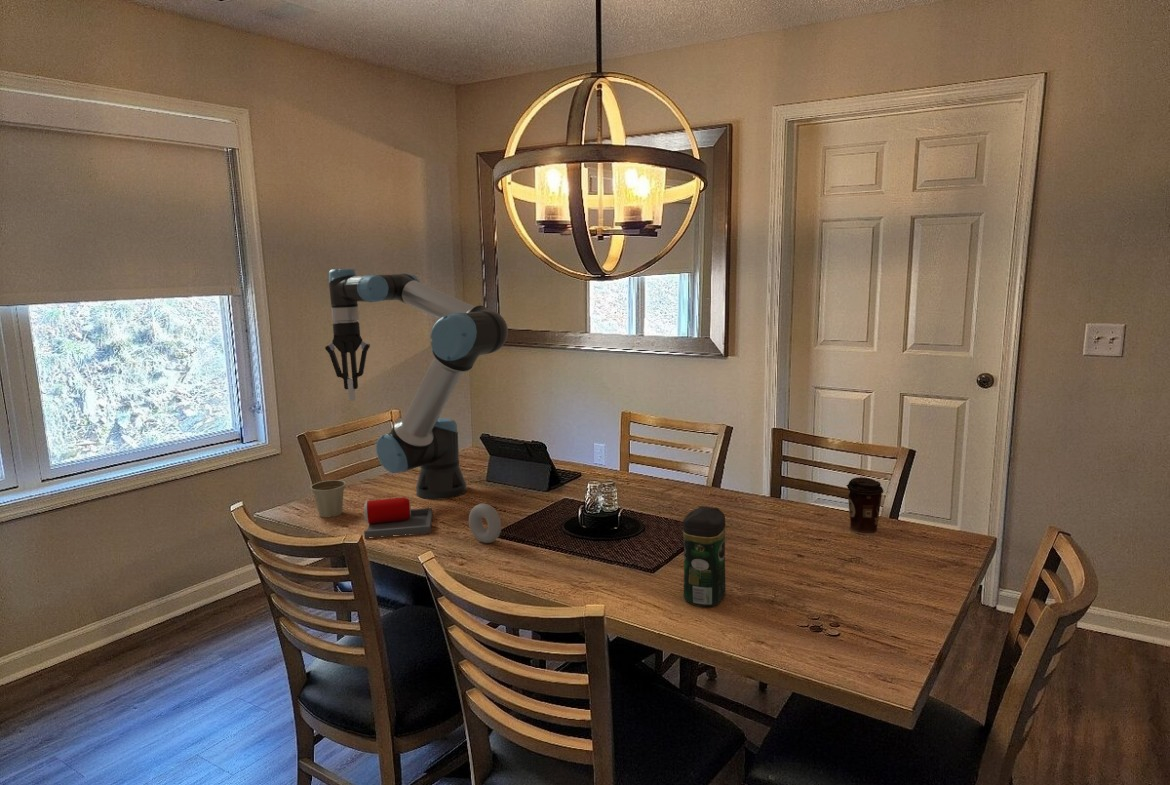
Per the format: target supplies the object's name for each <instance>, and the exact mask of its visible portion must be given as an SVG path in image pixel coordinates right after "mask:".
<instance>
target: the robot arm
mask: <svg viewBox="0 0 1170 785" xmlns="http://www.w3.org/2000/svg"><path fill="white" fill-rule="evenodd" d="M328 286H329V294H330V296H329V297H330V305H331V320H332V321H333V323H332V330H333V331H332V332H333V333H332V334H333V338H332V340H331V341H332V342H331V343H330V344H329V345H325V347H324V348H325V351H326V352H327V353H328V354H329V357H330V361H331V362H332V363H331V364H332V366H333V369H334V371H335V375H336V377H337V378H341V379H343V387H344V389H345V390H347V391H348V392H347V393H348V395H347V396H348V401H355V400H356V390H357V389H358V388H359V382H358V379H359V377H362V376H363V375H364V371H365V368H366V367H365V366H366V361H367V354H368V351H369V349H370V347H371V344H370V343H367V342H365V341H363V337H361V329H360V328H361V327H360V322H359V321H358V320H360V317H359V316H360V314H359V304H358V302H361V303H362V302H366V303H367V302H368V303H377V302H378V303H379V302H381V301H399V302H402V303H404V304H406V305H409V306H411V307H412V308H415V309H416V310H419V311H422V312H423V313H426V314H427V315H430V316H431V317H432V316H433V317H434V318H437V321H436V322H435V323H434V324H433V327H432V328H431V331H430V337H429V338H430V339H431V341H430V346H431V353H432V356H433V359H432V361H431V362H430V365H429V366H428V368H427V371H426V373H425V375H424V376H423V378H422V381H421V382H420V384H419V386H418V388H417V391H416V392H415V395H414V397H413V399H412V401H411V402H410V405H409V407H408V408H407V410H406V412H405V414H404V417H400V418H398V419H397V420H396V421H395V422H394V424H393V426H392V428H391V430H390V432H388V433H384V434H382V435H380V436H378V439H377V441H376V444H375V451H376V452H375V453H376V454H377V459H378V461H379V462H380V464H381V466H382V467H383V468H384V469H385V470H386V471H388V472H389V473H391V474H399V473H405V472H408V471H410V470H412V469H413V470H414V469H415V468H418V467H420V471H419V475H418V478H417V481H416V487H415V489H416V490H415V491H416V492H415V493H416V496H417V497H419V498H421V497H422V499H426V498H428V500H429V499H430V500H442V499H443V500H444V498H445V499H451V498H454V497H458V496H461V495H463V494H464V493H466V492H467V482H466V480H465V477H464V474H463V472H462V470H461V466H460V456H459V455H460V454H459V431H458V424H457V422H456V421H455V420H454V419H452V418H447V417H440V416H441V414H442V412H443V410H444V409H445V407H446V406H447V403H448V402H449V399H450V397H451V396H452V393H453V391H454V390H455V388H456V386H457V384H458V382H459V380H460V379H461V377H462V375H463V373H465V372H469V371H470V370H472V368H474V367H473V366H474V365H475V362H476V361H477V360H478V358H479V356H483V355H488V354H493V353H496V352H498V351H499V350H500V349H501V348H502V347H503V346H505V343H506V342H507V338H508V336H509V335H508V334H509V329H508V324H507V321H506V320H505V318H504V317H503V316H502V315H501V314H500V313H499V312H497V311H495V310H493V309H491V308H488V307H486V306H484V305H481V304H480V305H479V304H477V305H473V304H471V303H468V302H466V301H464V300H461V299H459V298H456V297H455V296H453V295H450V294H448V293H445V292H443V291H440V290H438V289H436V288H433V287H431V286H429V285H426V284H424V283H421V281H420V280H419V279H418V277H417V276H416V275H414V274H409V273H395V274H393V273H392V274H365V275H364V274H363V275H362V274H361V275H356V271H355V269H353V268H339V269H338V268H337V269H336V268H334V269H333V268H332V269H330V270H329V272H328ZM360 346H361V347H360ZM359 347H360V348H361V350H362V351H361V355H360V361H359V368H357V365H358V364H357V355H356V354H357V351H358V349H359ZM335 348H336V349H337V350H338V351H339V353H340V356H341V357H340V358H341V366H342V369H341V367H340V364H339V360H338V357H337V354H336V353H335V352H336V351H335ZM348 353H349V356H350V368H351V377H350V375H349V365H348V364H349V363H348ZM465 491H466V492H465Z"/></svg>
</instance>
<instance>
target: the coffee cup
mask: <svg viewBox="0 0 1170 785" xmlns="http://www.w3.org/2000/svg"><path fill="white" fill-rule="evenodd" d="M846 487H847V490H848V491H849V493H848V495H847V496H848V497H847V498H848V511H849V512H848V513H849V514H848V515H849V520H850V526H849V527H850V530H851V531H852V532H853V533H856V534H859V535H863V536H864V535H865V536H872V535H875V534H877V533H878V526H879V525H878V524H879V518H880V511H881V510H880V509H881V503H882V496H883V493H884V488H883V487H882V484H881V482H880V481H877V480H875V479H872V478H870V477H853V478H851V480H849V482H848V483H847V484H846Z"/></svg>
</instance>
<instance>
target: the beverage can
mask: <svg viewBox="0 0 1170 785" xmlns="http://www.w3.org/2000/svg"><path fill="white" fill-rule="evenodd" d="M363 506H364V507H363V509H364V510H363V512H364V521H365V522H367V524H368V525H369V524H374V523H383V522H393V521H403V520H407V519H408V518H410V517H411V509H412V508H411V500H410V499H409V498H407V497H404V496H403V497H393V498H386V499H385V498H384V499H383V498H382V499H373V500H367V501H365V503H364V505H363Z"/></svg>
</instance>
